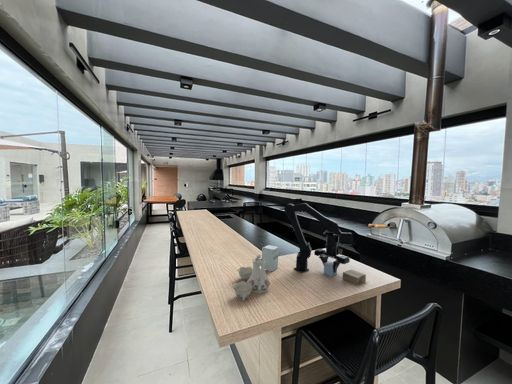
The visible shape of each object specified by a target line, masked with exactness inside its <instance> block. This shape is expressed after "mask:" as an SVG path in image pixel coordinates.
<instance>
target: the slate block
mask: <svg viewBox="0 0 512 384" xmlns="http://www.w3.org/2000/svg"><path fill="white" fill-rule="evenodd" d="M333 262H334V261H330V260H329V261H328V262H325V263H324V265H323V274H325V275H327V276H330V277H334V276H337V274H338V270H337V271H336V273H334V267H333Z"/></svg>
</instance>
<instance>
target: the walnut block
mask: <svg viewBox="0 0 512 384" xmlns="http://www.w3.org/2000/svg"><path fill="white" fill-rule="evenodd" d="M366 278H367V274H366V273H362V272H360V271H357V270H355V269H349V270H345V271H343V272H342V280H344V281H346V282H349V283H350V284H354V285H355V286H359V285H361V284H363V283H365V281H366ZM366 282H367V281H366Z"/></svg>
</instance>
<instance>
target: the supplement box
mask: <svg viewBox="0 0 512 384" xmlns="http://www.w3.org/2000/svg"><path fill="white" fill-rule="evenodd" d="M261 257H262V258H263V259H265V260H266V262H265V269H266V270H265V271H267V270H269V271H268V272H271V271H273V272H274V271H276V268H277V269H278V268H279V267H278V266H279V246H275V245H270V244H267V245H266V246H263V247H262V248H261Z"/></svg>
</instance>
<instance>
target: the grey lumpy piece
mask: <svg viewBox="0 0 512 384" xmlns="http://www.w3.org/2000/svg"><path fill="white" fill-rule="evenodd" d="M265 262H266V260H265V259H263V258H262V255H261V254H258V255H257V256H256V258H253V259H252V266H246V267H245V266H241V267H239V268H238V269H236V271H237V272H238V275H239V277H240V278H241V279H242V281H239V282H237V283H236V282H235V283H233V284H232V285H233V286H232V288H233V290H234V293H235V295H236V296H237V297H238V299H239V300H240V301H243V302H245V300H246V299H247V298H248V297H249V296H250V295H251V292H252V293H253V294H264V293H266V292H267V291H268V288H269V286H271V281H270V279H269V277H268V276H267V273H266V270H265Z"/></svg>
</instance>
